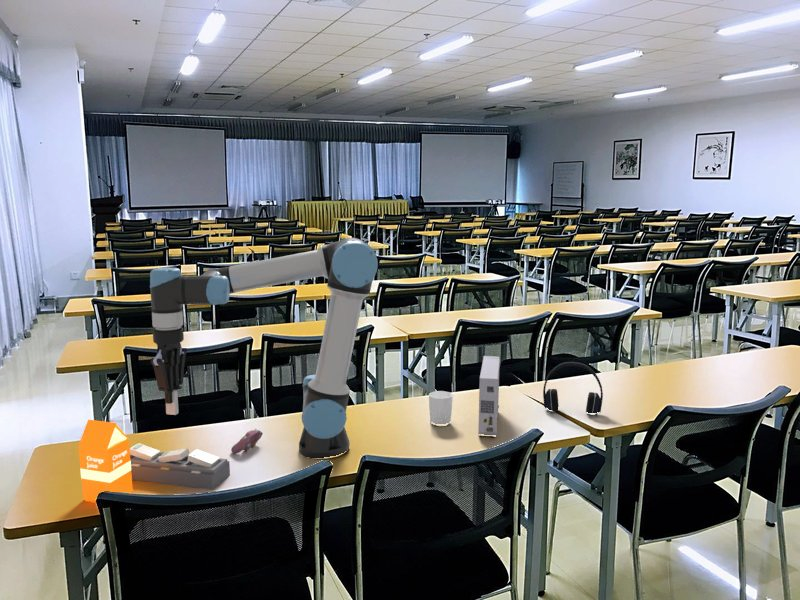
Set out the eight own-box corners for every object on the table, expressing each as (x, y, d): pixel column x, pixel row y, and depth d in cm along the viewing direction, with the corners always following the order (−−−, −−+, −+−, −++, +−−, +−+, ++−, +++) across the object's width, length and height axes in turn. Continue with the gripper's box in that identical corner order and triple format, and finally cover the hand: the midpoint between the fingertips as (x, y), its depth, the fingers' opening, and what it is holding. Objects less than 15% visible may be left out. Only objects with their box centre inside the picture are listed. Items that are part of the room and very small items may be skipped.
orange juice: (105, 487, 165) (99, 414, 162) (133, 491, 163) (127, 417, 159) (82, 500, 158) (75, 424, 155) (111, 505, 155) (105, 428, 152)
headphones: (541, 413, 221) (543, 362, 218) (543, 407, 227) (545, 358, 224) (601, 419, 215) (604, 367, 212) (601, 412, 222) (604, 362, 219)
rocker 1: (159, 456, 174) (160, 450, 174) (150, 462, 170) (151, 456, 170) (137, 448, 175) (138, 442, 175) (128, 453, 171) (129, 448, 171)
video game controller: (240, 460, 185) (249, 441, 183) (228, 452, 186) (237, 433, 184) (259, 448, 195) (267, 430, 193) (247, 440, 196) (255, 422, 194)
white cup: (457, 424, 210) (457, 395, 208) (438, 429, 206) (438, 400, 204) (442, 417, 217) (442, 389, 215) (423, 422, 212) (424, 393, 211)
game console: (498, 411, 223) (500, 356, 220) (496, 440, 197) (498, 379, 193) (482, 410, 224) (483, 355, 221) (478, 439, 198) (479, 378, 194)
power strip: (230, 474, 172) (229, 457, 172) (212, 489, 164) (211, 471, 163) (140, 464, 179) (139, 447, 178) (119, 478, 170) (118, 460, 170)
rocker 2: (189, 453, 171) (187, 447, 171) (181, 459, 168) (179, 453, 167) (168, 457, 173) (166, 451, 173) (159, 463, 170) (157, 457, 169)
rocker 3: (218, 462, 170) (219, 457, 169) (210, 469, 166) (211, 463, 166) (195, 454, 171) (196, 448, 171) (187, 460, 167) (188, 454, 167)
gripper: (170, 321, 171) (174, 404, 175) (139, 331, 159) (144, 420, 163) (194, 323, 170) (198, 407, 174) (165, 333, 157) (170, 423, 161)
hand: (172, 413), depth 168 cm, fingers closed
